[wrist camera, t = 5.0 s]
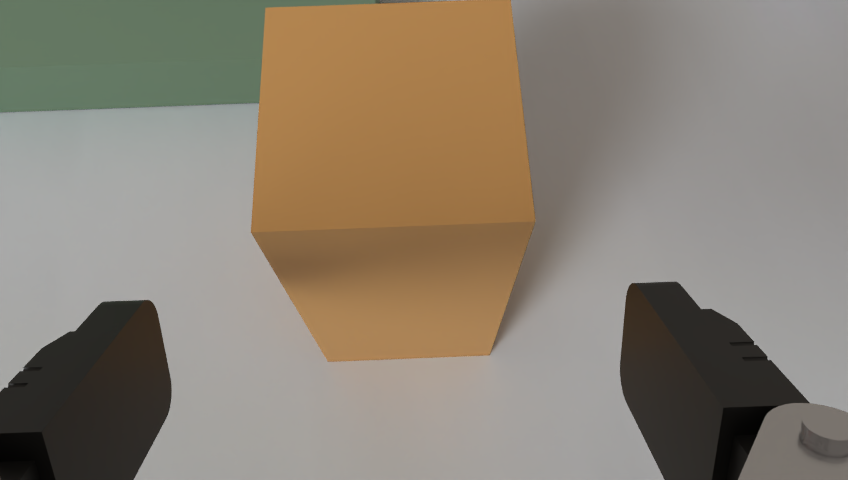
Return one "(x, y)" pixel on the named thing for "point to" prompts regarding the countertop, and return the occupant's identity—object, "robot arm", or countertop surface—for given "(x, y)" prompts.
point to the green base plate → (133, 52)
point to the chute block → (393, 173)
